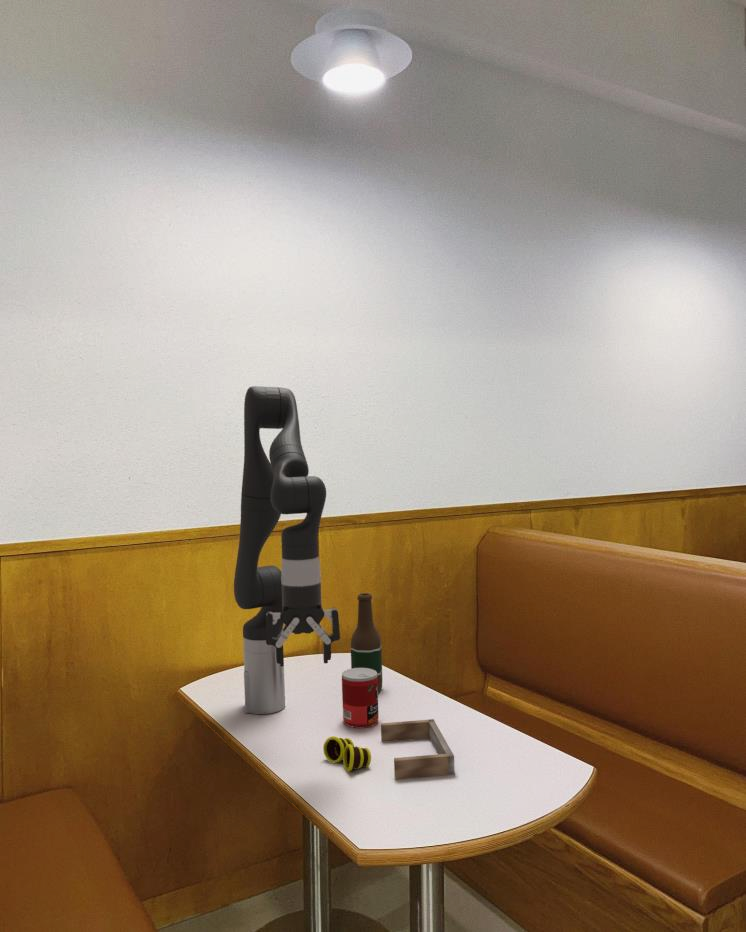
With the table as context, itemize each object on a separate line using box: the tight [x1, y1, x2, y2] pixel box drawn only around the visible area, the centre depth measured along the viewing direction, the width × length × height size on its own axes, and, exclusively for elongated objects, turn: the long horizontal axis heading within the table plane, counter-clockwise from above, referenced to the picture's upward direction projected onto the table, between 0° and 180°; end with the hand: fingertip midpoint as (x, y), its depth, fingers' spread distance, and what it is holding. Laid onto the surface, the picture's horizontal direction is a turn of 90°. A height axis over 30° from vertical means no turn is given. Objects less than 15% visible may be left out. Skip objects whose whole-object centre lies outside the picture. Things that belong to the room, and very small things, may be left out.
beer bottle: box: [350, 592, 383, 694], centre depth 193 cm, size 8×8×24 cm
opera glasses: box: [322, 736, 372, 773], centre depth 153 cm, size 10×5×5 cm, turn 37°
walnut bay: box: [380, 718, 456, 780], centre depth 155 cm, size 11×18×4 cm, turn 8°
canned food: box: [341, 668, 380, 728], centre depth 173 cm, size 8×8×11 cm
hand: (303, 663), depth 151 cm, fingers open, 8 cm apart
